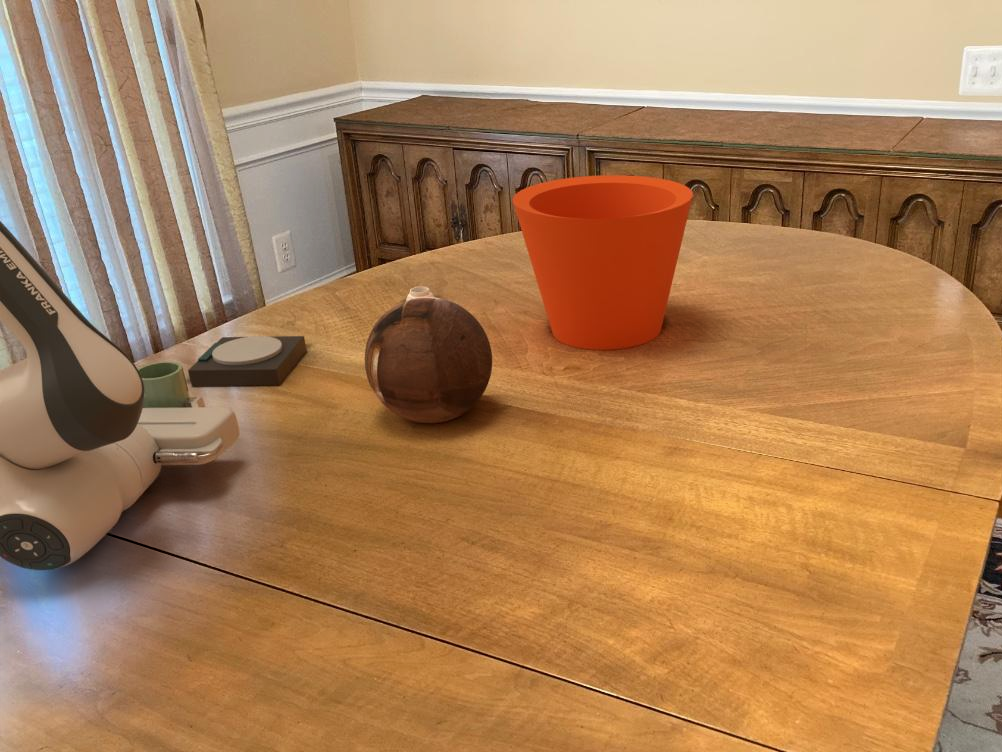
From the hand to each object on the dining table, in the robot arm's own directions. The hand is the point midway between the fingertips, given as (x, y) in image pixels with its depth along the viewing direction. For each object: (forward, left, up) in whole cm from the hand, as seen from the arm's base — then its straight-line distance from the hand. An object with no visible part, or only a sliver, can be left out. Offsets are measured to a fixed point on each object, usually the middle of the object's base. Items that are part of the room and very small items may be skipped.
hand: (169, 402), depth 113 cm
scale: (0, +23, -6) cm, 24 cm away
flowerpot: (+49, +36, -6) cm, 61 cm away
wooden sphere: (+29, +7, -6) cm, 30 cm away
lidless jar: (+19, +47, -6) cm, 51 cm away
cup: (0, -1, -6) cm, 6 cm away
